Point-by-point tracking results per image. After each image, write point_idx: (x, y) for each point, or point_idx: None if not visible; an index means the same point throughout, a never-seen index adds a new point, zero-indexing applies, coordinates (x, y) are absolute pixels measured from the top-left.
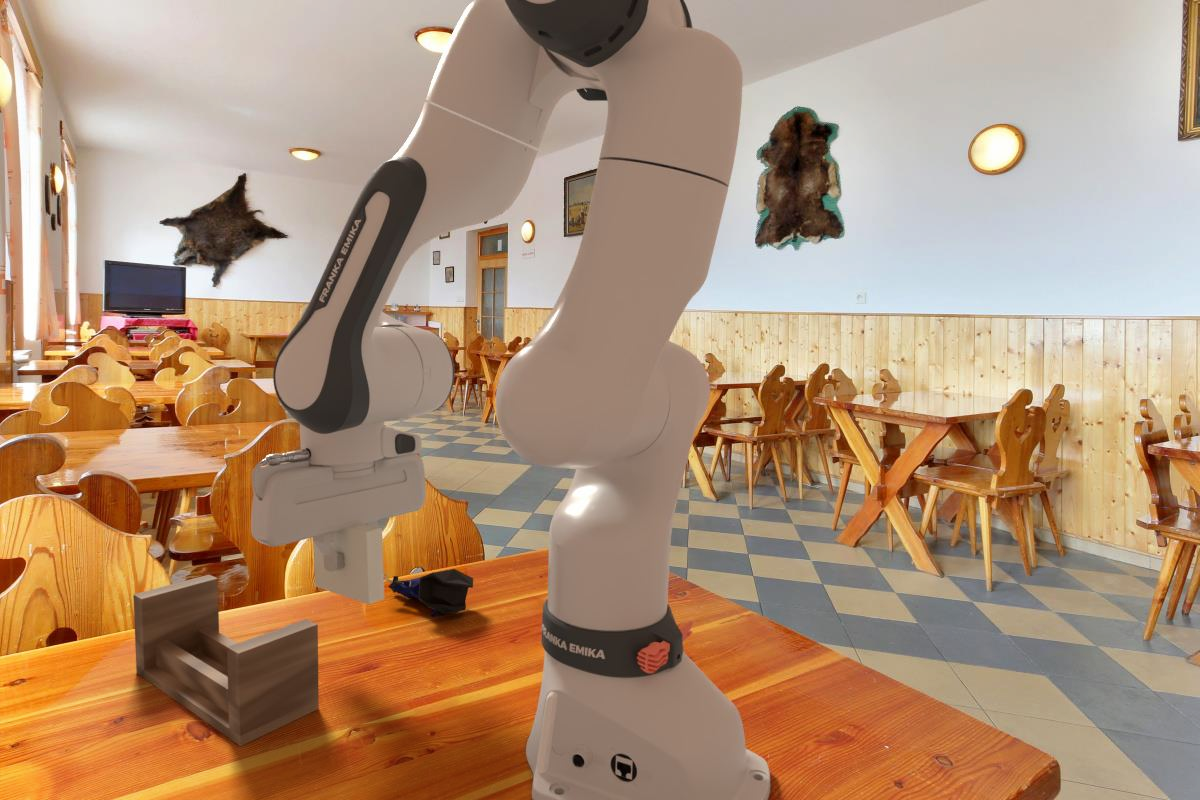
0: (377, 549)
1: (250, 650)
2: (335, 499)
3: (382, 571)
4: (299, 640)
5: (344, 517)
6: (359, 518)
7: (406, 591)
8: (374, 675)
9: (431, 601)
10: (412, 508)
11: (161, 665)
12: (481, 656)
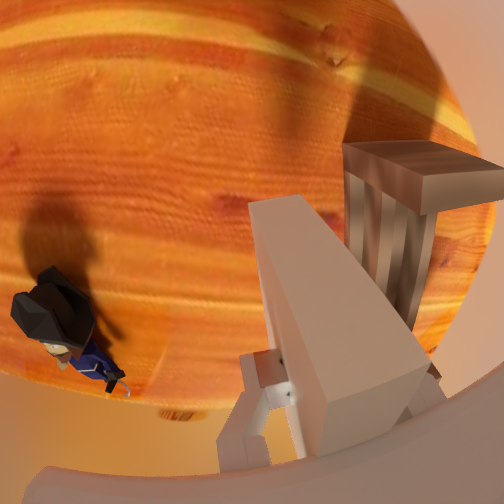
0: (323, 299)
1: (497, 169)
2: (480, 501)
3: (269, 243)
4: (438, 168)
5: (422, 459)
6: (346, 473)
7: (105, 354)
8: (237, 175)
9: (79, 308)
10: (71, 481)
11: None
12: (70, 128)
